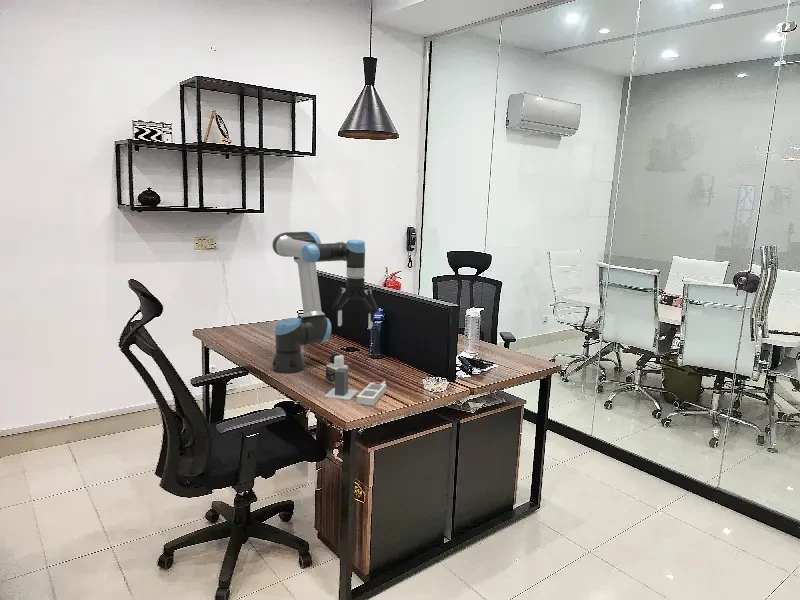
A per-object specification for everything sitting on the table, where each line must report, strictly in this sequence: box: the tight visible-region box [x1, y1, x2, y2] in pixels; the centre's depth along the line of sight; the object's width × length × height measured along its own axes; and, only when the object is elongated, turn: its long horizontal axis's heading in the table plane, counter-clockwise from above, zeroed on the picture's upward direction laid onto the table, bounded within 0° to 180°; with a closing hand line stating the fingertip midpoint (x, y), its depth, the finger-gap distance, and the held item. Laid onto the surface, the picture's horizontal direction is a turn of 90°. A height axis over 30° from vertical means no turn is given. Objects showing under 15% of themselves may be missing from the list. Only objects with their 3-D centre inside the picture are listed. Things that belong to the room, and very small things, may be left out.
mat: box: [323, 387, 359, 401], centre depth 232 cm, size 11×11×1 cm
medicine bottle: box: [325, 353, 349, 385], centre depth 247 cm, size 7×7×12 cm
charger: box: [334, 368, 349, 396], centre depth 231 cm, size 5×4×10 cm
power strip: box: [356, 380, 388, 407], centre depth 234 cm, size 27×7×4 cm, turn 165°
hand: (354, 326), depth 236 cm, fingers open, 13 cm apart
